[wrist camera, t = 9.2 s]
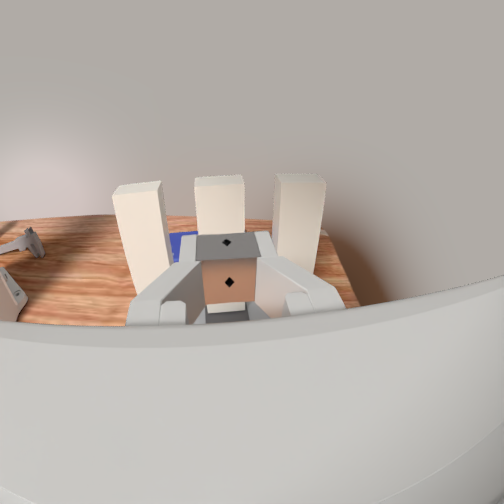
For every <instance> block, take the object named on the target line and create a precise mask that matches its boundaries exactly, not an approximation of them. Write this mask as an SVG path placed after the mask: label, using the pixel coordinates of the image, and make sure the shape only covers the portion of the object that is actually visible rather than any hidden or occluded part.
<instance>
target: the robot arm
mask: <svg viewBox="0 0 504 504" xmlns="http://www.w3.org/2000/svg"><path fill="white" fill-rule="evenodd" d="M27 300H28V297H27V295H26V294H25V292H24V291H23V290H22V289H21V288H20V287H19V285H18V284H17V283H16V282H15V281H14V279H13V278H12V277H11V276H10V274H9V273H8V272H7V271H6V269H5V268H4V267H0V504H504V275H501V276H498V277H494V278H491V279H487V280H483V281H480V282H476V283H472V284H468V285H464V286H460V287H456V288H452V289H448V290H444V291H439V292H435V293H430V294H425V295H421V296H416V297H411V298H406V299H401V300H395V301H391V302H385V303H379V304H374V305H368V306H361V307H355V308H349V309H346V307H345V305H344V303H343V301H342V299H341V297H340V296H339V294H338V292H337V290H336V288H335V287H334V286H332V285H330V284H329V283H327V282H325V281H324V280H322V279H320V278H319V277H317V276H315V275H314V274H312V273H310V272H309V271H307V270H305V269H304V268H302V267H300V266H298V265H297V264H295V263H293V262H292V261H290V260H288V259H287V258H285V257H283V256H278V254H277V251H276V249H275V246H274V244H273V241H272V239H271V236H270V234H269V232H268V231H257V232H243V233H230V234H199V235H196V234H195V235H183V236H182V238H181V246H180V255H179V262H175V263H173V264H172V265H171V266H170V267H169V268H168V269H167V270H165V271H164V272H163V273H162V274H161V275H160V276H159V277H157V278H156V279H155V280H154V281H153V282H152V283H151V284H150V285H148V286H147V287H146V288H145V289H144V290H143V291H142V292H141V293H140V294H138V295H137V296H136V297H135V298H134V299H133V300H132V301H131V302H130V307H129V311H128V315H127V320H126V324H125V326H76V325H54V324H38V323H25V322H16V320H17V317H18V314H19V312H20V311H21V309H22V308H23V307H24V305H25V304H26V302H27ZM251 301H255V303H256V304H257V305H258V306H259V307H260V308H261V309H262V310H263V311H264V312H265V313H266V314H267V315H268V316H269V317H270V318H271V319H261V320H250V321H238V322H224V323H209V324H194V322H195V321H196V319H197V318H198V316H199V315H200V313H201V312H202V310H203V309H204V308H205V305H209V304H220V303H231V302H251Z"/></svg>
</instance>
